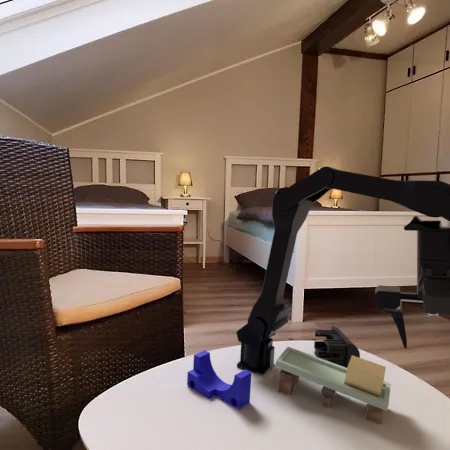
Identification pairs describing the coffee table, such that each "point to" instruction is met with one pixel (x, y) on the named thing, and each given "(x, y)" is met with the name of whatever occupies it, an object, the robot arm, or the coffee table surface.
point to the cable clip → (218, 382)
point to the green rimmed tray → (328, 376)
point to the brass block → (365, 376)
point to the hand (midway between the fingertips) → (436, 351)
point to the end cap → (335, 347)
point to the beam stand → (290, 381)
